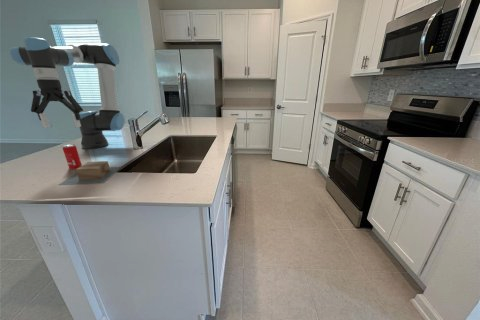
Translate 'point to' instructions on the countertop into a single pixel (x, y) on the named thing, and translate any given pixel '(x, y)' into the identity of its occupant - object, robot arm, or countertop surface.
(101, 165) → the base block
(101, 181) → the mat
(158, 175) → the countertop surface
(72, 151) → the beverage can
